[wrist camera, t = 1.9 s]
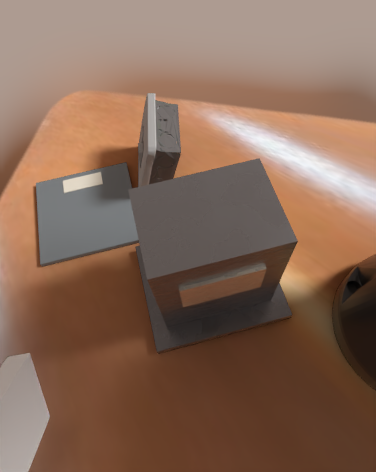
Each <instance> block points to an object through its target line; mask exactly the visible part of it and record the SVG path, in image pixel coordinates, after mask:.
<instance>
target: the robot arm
mask: <svg viewBox="0 0 376 472" xmlns="http://www.w3.org/2000/svg"><path fill="white" fill-rule="evenodd" d="M332 319H333V327H334V332H335V335H336V338H337V341H338V344H339V346H340V348H341V350H342V352H343V354H344V356H345V358H346V359H347V361H348V362H349V364H350V365H351V366H352V368H353V369H354V370H355V371H356V373H357V374H358V375H359V376H360V377H361V378H362V379H363V380H364V381H365V382H366V383H367V384H368V385H370V386H371V387H372V388H373V389H375V390H376V254H375V255H373V256H371V257H369V258H367V259H365V260H364V261H362V262H361V263H359V264H358V265H357V266H356V267H354V268H353V270H352V271H351V272H350V273H349V274H348V275H347V276H346V277H345V279H344V280H343V281H342V283H341V284H340V286H339V288H338V290H337V292H336V295H335V298H334V302H333V310H332ZM49 418H50V415H49V411H48V408H47V405H46V402H45V399H44V396H43V393H42V390H41V386H40V383H39V380H38V377H37V374H36V371H35V368H34V365H33V361H32V358H31V355H30V353H25V354H20V355H14V356H8V357H7V358H6V360H5V361H4V363H3V364H2V366H1V367H0V472H29V469H30V467H31V464H32V462H33V459H34V456H35V454H36V451H37V449H38V446H39V444H40V441H41V439H42V436H43V434H44V431H45V429H46V426H47V423H48V421H49Z"/></svg>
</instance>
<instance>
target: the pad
mask: <svg viewBox="0 0 376 472" xmlns="http://www.w3.org/2000/svg"><path fill="white" fill-rule="evenodd" d="M128 189H132V185H131V180H130V176H129V171H128V167H127V163H126V162H125V163H121V164H117V165H112V166H108V167H104V168H99V169H95V170H91V171H86V172H82V173H78V174H74V175H69V176H65V177H61V178H56V179H52V180H48V181H43V182H39V183H36V194H37V212H38V231H39V249H40V265H41V266H46V265H50V264H55V263H59V262H63V261H67V260H71V259H75V258H79V257H83V256H87V255H91V254H95V253H99V252H103V251H107V250H111V249H115V248H119V247H123V246H127V245H131V244H135V243H139V239H138V234H137V229H136V224H135V220H134V215H133V210H132V206H131V201H130V196H129V191H128Z"/></svg>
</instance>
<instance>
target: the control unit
mask: <svg viewBox="0 0 376 472" xmlns="http://www.w3.org/2000/svg"><path fill="white" fill-rule="evenodd" d="M128 191H129V196H130V201H131V206H132V210H133V215H134V220H135V224H136V229H137V234H138V239H139V243H140V246H137V247H136V252H137V257H138V262H139V267H140V271H141V276H142V281H143V286H144V291H145V296H146V301H147V306H148V311H149V316H150V320H151V325H152V330H153V335H154V340H155V345H156V350H157V353H158V354H159V353H163V352H166V351H170V350H174V349H177V348H181V347H185V346H189V345H192V344H196V343H200V342H203V341H207V340H211V339H214V338H218V337H222V336H225V335H229V334H233V333H236V332H240V331H244V330H247V329H251V328H255V327H258V326H262V325H266V324H269V323H273V322H277V321H280V320H284V319H288V318H291V316H292V313H291V310H290V308H289V306H288V303H287V301H286V298H285V296H284V293H283V291H282V288H281V286H280V283H279V282H280V279H281V277H282V275H283V273H284V270H285V268H286V266H287V264H288V262H289V259H290V257H291V255H292V253H293V250H294V248H295V246H296V244H297V242H298V241H297V239H296V236H295V234H294V232H293V230H292V228H291V226H290V223H289V221H288V219H287V217H286V215H285V213H284V210H283V208H282V206H281V204H280V202H279V200H278V197H277V195H276V193H275V191H274V189H273V187H272V184H271V182H270V180H269V178H268V176H267V174H266V171H265V169H264V167H263V165H262V163H261V161H260V158H259V159H255V160H250V161H246V162H242V163H238V164H234V165H229V166H225V167H221V168H217V169H212V170H208V171H204V172H200V173H196V174H191V175H187V176H183V177H179V178H175V179H170V180H166V181H162V182H158V183H154V184H149V185H145V186H141V187H137V188H132V189H128Z"/></svg>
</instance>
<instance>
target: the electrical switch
mask: <svg viewBox="0 0 376 472" xmlns="http://www.w3.org/2000/svg"><path fill="white" fill-rule="evenodd" d="M176 142H177V143H176ZM173 152H174V153H173ZM179 153H181V147H180V132H179V117H178V105H177V104H168V103H165V102H161V101H157V100H155V94H153V93H148V94H147V97H146V102H145V107H144V113H143V119H142V126H141V132H140V139H139V143H138V187H141V186H145V185H149V184H154V183H158V182H162V181H166V180H170V179H173V177H174V174H175V171H176V167H177V164H178V161H179V158H180V154H179Z"/></svg>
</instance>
